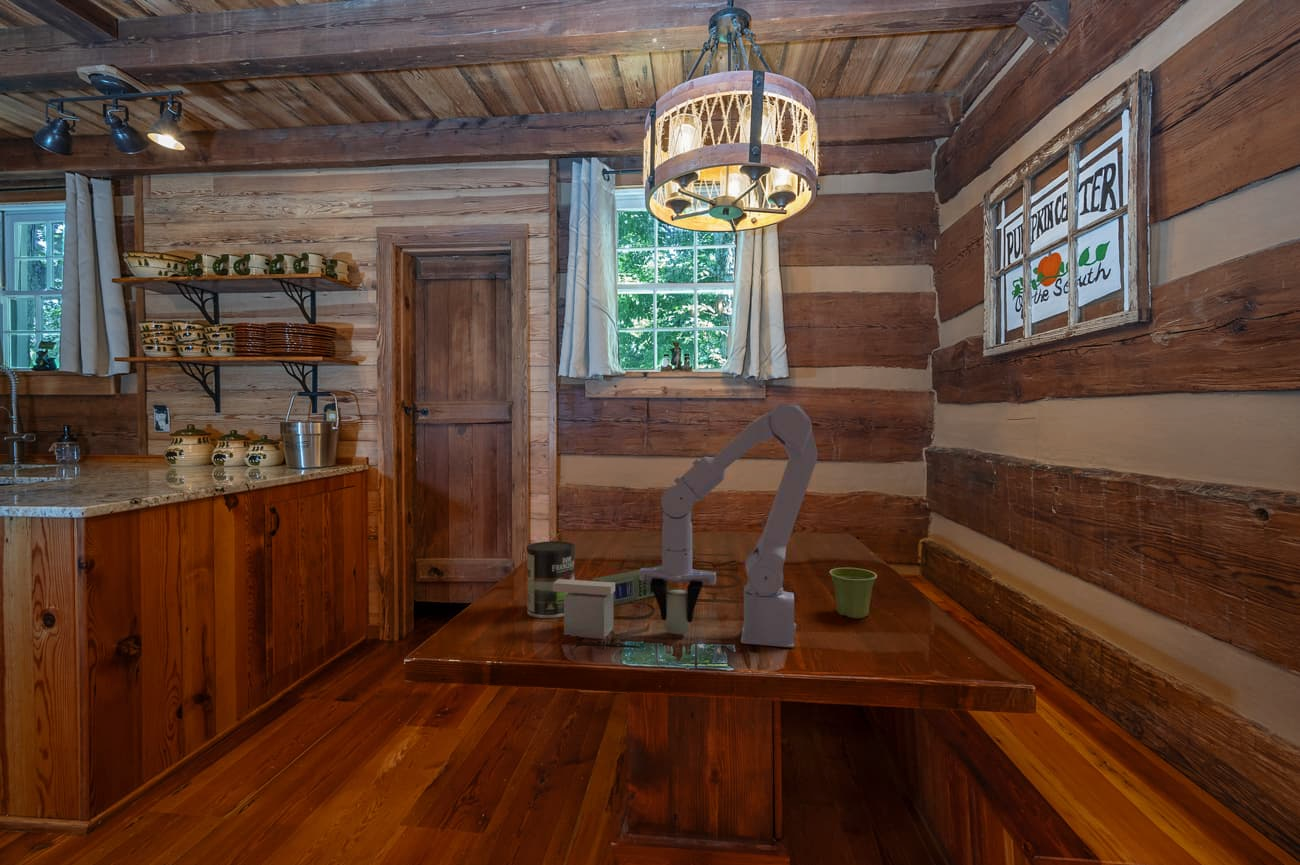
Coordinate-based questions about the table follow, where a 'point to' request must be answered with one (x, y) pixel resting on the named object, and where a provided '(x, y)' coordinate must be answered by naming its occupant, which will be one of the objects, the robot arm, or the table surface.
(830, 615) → the table surface
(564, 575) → the coffee can
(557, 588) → the pale grey rectangular box
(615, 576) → the handheld radio
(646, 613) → the table surface
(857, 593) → the plant pot
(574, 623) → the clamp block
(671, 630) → the plug
